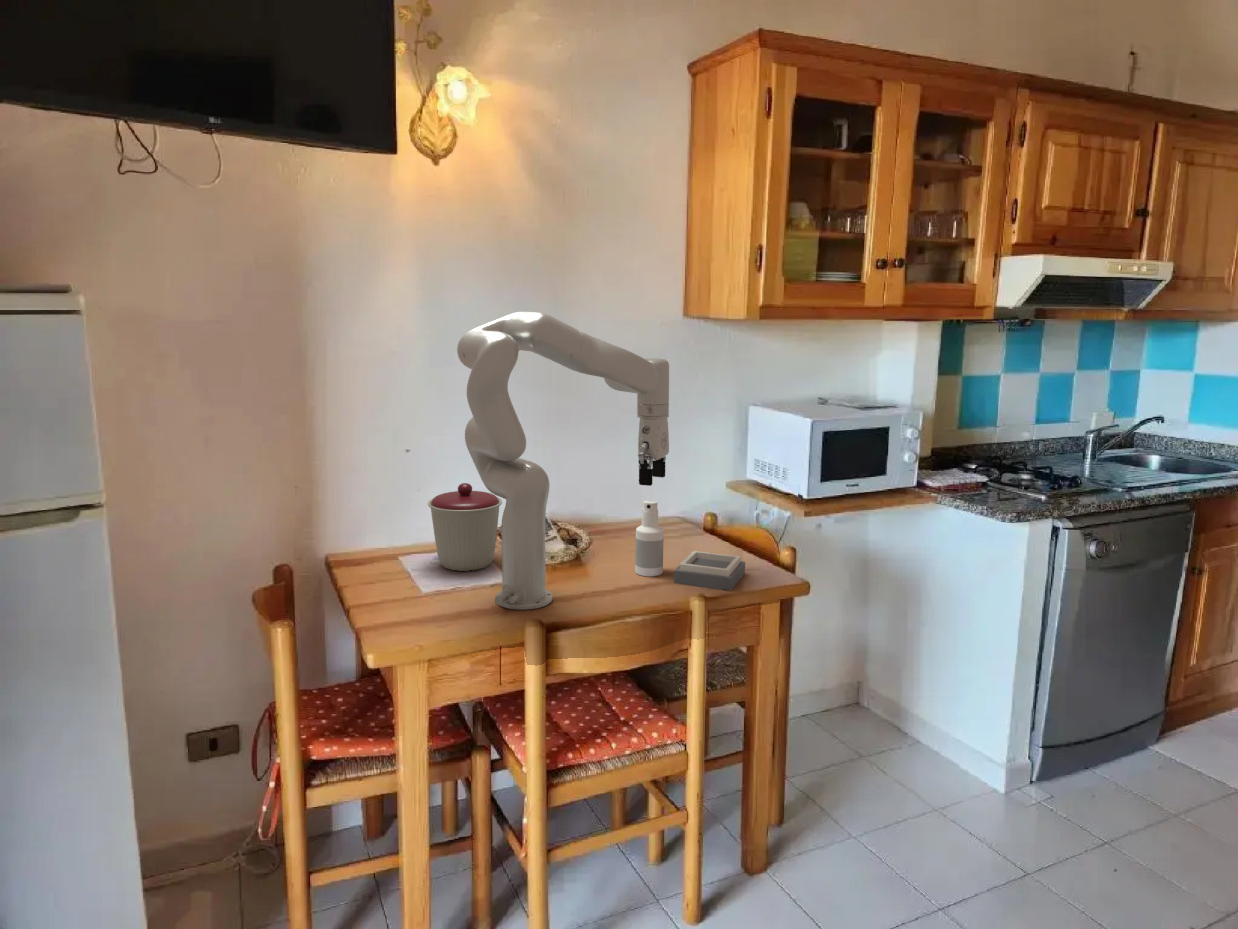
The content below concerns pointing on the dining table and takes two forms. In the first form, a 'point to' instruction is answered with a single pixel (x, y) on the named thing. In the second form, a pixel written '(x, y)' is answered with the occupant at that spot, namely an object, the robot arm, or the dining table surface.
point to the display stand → (710, 570)
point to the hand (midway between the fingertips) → (652, 480)
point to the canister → (465, 527)
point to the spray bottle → (649, 542)
